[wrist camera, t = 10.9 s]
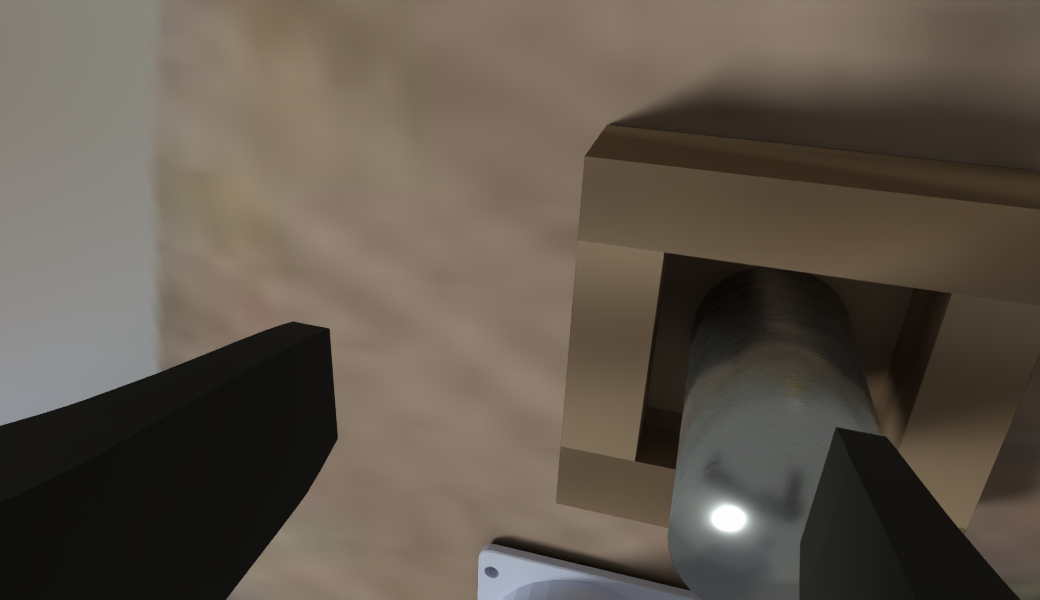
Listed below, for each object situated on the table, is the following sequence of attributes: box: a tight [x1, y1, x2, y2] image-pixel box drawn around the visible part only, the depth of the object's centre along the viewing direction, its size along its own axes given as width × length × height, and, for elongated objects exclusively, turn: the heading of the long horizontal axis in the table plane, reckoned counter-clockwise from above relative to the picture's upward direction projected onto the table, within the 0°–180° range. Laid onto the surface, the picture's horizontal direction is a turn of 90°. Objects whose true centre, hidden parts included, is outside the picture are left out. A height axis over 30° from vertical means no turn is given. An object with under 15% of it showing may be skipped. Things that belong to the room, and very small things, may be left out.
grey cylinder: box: [668, 266, 882, 600], centre depth 17 cm, size 4×4×8 cm
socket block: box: [556, 125, 1040, 534], centre depth 19 cm, size 10×10×3 cm
